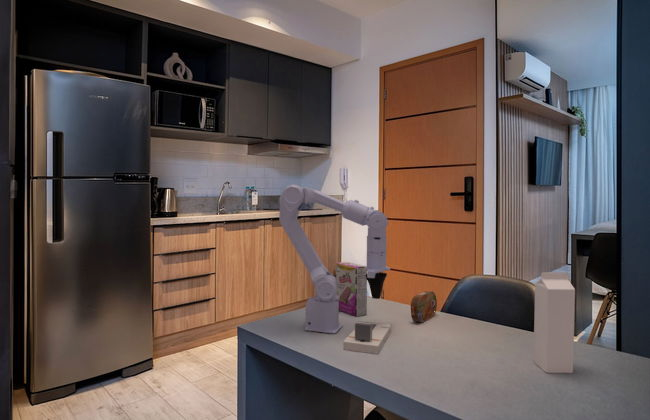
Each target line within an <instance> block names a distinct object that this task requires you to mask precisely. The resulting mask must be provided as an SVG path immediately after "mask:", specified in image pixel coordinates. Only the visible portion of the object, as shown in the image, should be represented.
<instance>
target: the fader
mask: <svg viewBox="0 0 650 420" xmlns="http://www.w3.org/2000/svg"><path fill="white" fill-rule="evenodd" d="M372 323H373V322H368V321H359V320H358V321H356V322H355V323H354V329H355V339H358V340H366V341H370V340H371V339H372Z"/></svg>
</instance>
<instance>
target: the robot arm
mask: <svg viewBox="0 0 650 420" xmlns="http://www.w3.org/2000/svg"><path fill="white" fill-rule="evenodd" d="M281 191H282V192H281V195H280V196H279V200H278V201H279V216H278V217H279V218H278V219H279V223H280V225H281V226H282V228H283V230H284V232H285V234H286V235H287V236H288V239H289V241H290V242H291V244H292V245H293V248H294V249H295V251H296V252H297V254H298V256H299V257H300V259H301V261H302V263H303V264H304V266H305V268H306V270H307V272H308V273H309V275H310V280H311V283H312V284H313V285H314V294H315V295H314V296H313V297H308V299H307V300H306V304H305V328H304V330H305V331H308V332H309V331H310V332H319V333H325V334H336V333H337V332H339V330H341V329H342V327H343V326H344V324H343V323H339V321H340V319H339V315H340V312H339V297H338V296H337V295H336V293H337V286H338V281H337V279H336V275H334V274H332V273H331V272H329V270H328V268H327V267H326V266H325V265H324V263H323V261H322V259H321V258H320V256H319V254H318V253H317V252H316V250H315V248H314V246H313V244H312V243H311V241H310V238H309V237H308V235H307V234H306V232H305V231H304V228H303V226H302V225H301V223H300V222H299V220H298V216H299V214H300V211H301V208H302V206H304V204H312V203H313V204H314V203H316V204H319V205H322V206H325V207H326V208H327V207H328V208H329V209H332V210H334V211H337V212H340V213H341V215H342V218H343V219H346V220H348V221H351V222H353V223H355V224H358V225H360V226H367V235H366V265H365V266H366V270H367V274H366V279H367V283H368V285H369V289H370V294H371V299H373V300H375V299H376V300H379V299H380V298H381V296H382V290H383V287H384V282H385V281H386V278H387V276H388V273H387V272H385V271H391V266H387V229H386V228H387V227H388V224H389V221H388V218H387V215H386V214H385V213H384V212H382V211H380V210H378V209H375V207H374V206H367V205H364V204H361V203H360V201H359V200H358V199H354V200H352V199H350V200H346V201H342V200H341V199H338V198H336V197H333V196H332V195H329V194H326V193H324V192H322V191H319V190H317V189H314V188H309V187H303V186H301V185H297V184H294V183H293V184H288V185H287V186H285V187H284V188H283V190H281Z"/></svg>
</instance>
